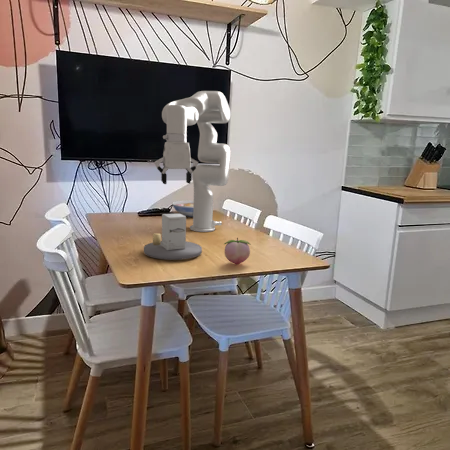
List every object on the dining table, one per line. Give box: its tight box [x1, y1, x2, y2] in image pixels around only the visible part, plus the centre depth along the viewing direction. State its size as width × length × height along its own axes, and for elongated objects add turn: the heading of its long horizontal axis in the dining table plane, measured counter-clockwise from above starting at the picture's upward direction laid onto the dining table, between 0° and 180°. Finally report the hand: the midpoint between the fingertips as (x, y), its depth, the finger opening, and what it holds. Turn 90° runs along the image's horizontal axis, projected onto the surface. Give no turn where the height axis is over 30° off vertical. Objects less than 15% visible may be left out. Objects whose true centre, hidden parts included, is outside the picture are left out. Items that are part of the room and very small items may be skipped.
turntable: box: [143, 232, 203, 261], centre depth 154 cm, size 22×22×6 cm
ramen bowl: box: [171, 200, 194, 218], centre depth 232 cm, size 25×23×8 cm
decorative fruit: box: [224, 237, 252, 265], centre depth 143 cm, size 9×8×10 cm
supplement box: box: [161, 213, 187, 250], centre depth 153 cm, size 7×7×13 cm
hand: (176, 183), depth 157 cm, fingers open, 9 cm apart
